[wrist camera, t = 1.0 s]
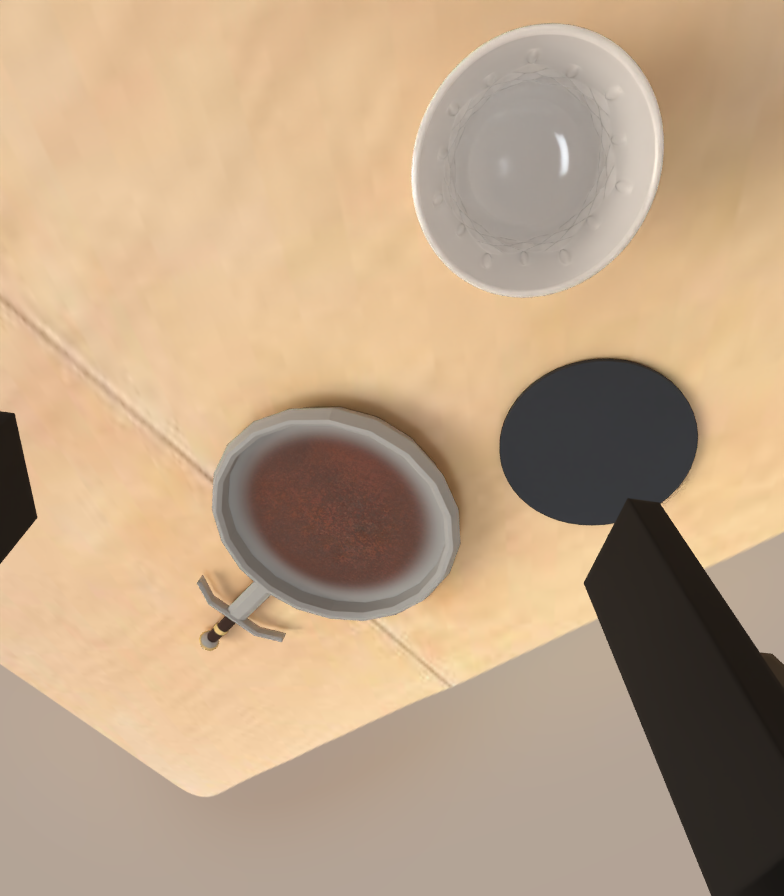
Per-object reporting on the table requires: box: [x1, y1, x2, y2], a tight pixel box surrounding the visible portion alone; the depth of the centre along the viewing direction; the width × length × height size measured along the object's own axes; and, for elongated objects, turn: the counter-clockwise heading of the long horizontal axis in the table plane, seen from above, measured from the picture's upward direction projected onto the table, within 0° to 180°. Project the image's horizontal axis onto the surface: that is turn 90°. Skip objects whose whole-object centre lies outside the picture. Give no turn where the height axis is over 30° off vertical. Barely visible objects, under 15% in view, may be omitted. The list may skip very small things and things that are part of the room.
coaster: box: [500, 359, 698, 525], centre depth 33 cm, size 11×11×1 cm
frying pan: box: [197, 407, 460, 651], centre depth 40 cm, size 17×3×28 cm
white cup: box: [411, 23, 664, 298], centre depth 22 cm, size 8×8×10 cm
